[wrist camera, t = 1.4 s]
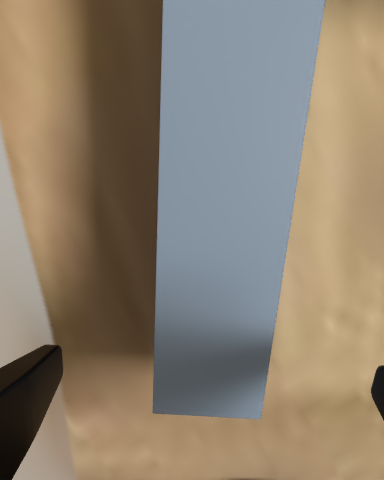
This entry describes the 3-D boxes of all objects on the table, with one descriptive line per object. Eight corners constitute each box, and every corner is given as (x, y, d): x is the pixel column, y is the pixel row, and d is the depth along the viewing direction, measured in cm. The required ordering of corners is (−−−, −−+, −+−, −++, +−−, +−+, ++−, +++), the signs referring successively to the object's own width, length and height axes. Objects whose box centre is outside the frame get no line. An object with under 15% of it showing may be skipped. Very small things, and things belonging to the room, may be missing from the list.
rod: (241, 349, 14) (260, 419, 10) (164, 344, 14) (152, 413, 10) (288, -30, 10) (350, -164, 6) (178, -37, 10) (167, -177, 6)
